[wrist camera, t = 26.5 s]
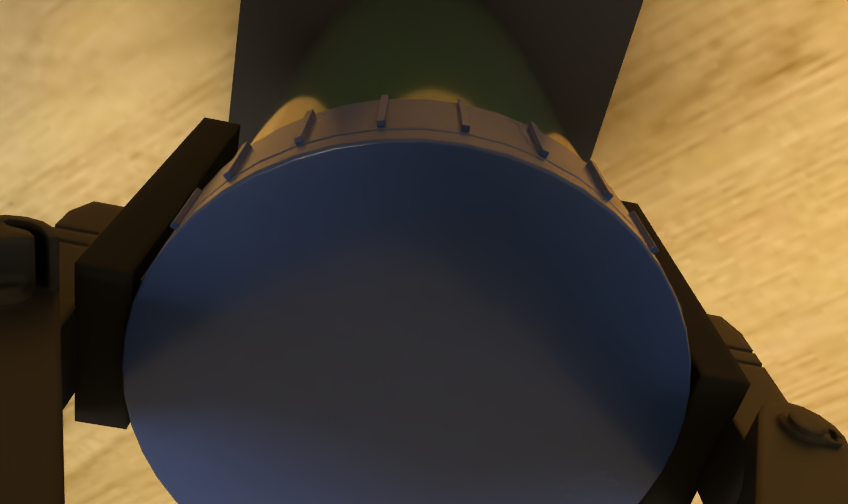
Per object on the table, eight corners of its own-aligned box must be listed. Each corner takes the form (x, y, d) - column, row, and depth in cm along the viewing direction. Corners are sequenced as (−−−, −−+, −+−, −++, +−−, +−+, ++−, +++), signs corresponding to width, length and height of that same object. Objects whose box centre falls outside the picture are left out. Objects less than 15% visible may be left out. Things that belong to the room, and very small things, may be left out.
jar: (316, -42, 22) (171, 84, 9) (562, 14, 23) (741, 201, 10) (284, 190, 26) (144, 517, 13) (499, 232, 26) (572, 581, 13)
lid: (124, 459, 14) (84, 538, 12) (211, 14, 10) (169, 41, 8) (543, 558, 15) (558, 643, 13) (754, 192, 11) (809, 246, 10)
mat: (262, -179, 21) (258, -180, 21) (664, -81, 22) (670, -80, 22) (218, 252, 27) (214, 259, 27) (534, 311, 29) (536, 319, 28)
